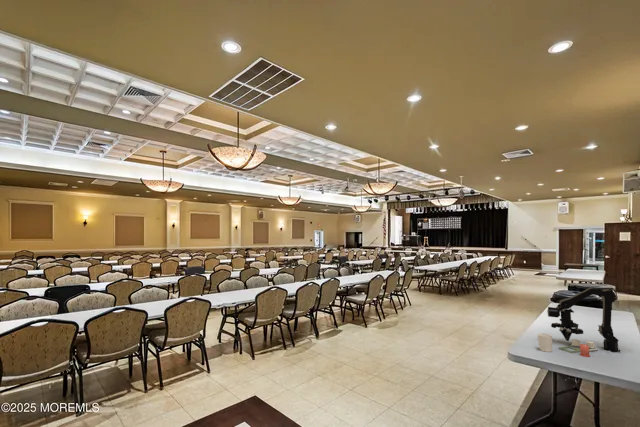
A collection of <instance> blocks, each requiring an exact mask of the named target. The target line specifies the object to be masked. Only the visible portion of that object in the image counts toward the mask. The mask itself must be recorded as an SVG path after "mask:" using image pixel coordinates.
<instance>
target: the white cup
mask: <svg viewBox="0 0 640 427" xmlns="http://www.w3.org/2000/svg"><path fill="white" fill-rule="evenodd" d="M537 341H538V346H539V350H540V351H542V352H547V353H551V352H552V351H553V335H551V334H548V333H541V332H540V333H539V332H538V333H537Z"/></svg>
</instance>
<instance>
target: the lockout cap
mask: <svg viewBox="0 0 640 427" xmlns="http://www.w3.org/2000/svg"><path fill="white" fill-rule="evenodd" d="M579 355H580V356H581V357H584V358H591V355H590V352H589V346H588V345H586V343H585V344H584V343H580V352H579Z"/></svg>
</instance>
